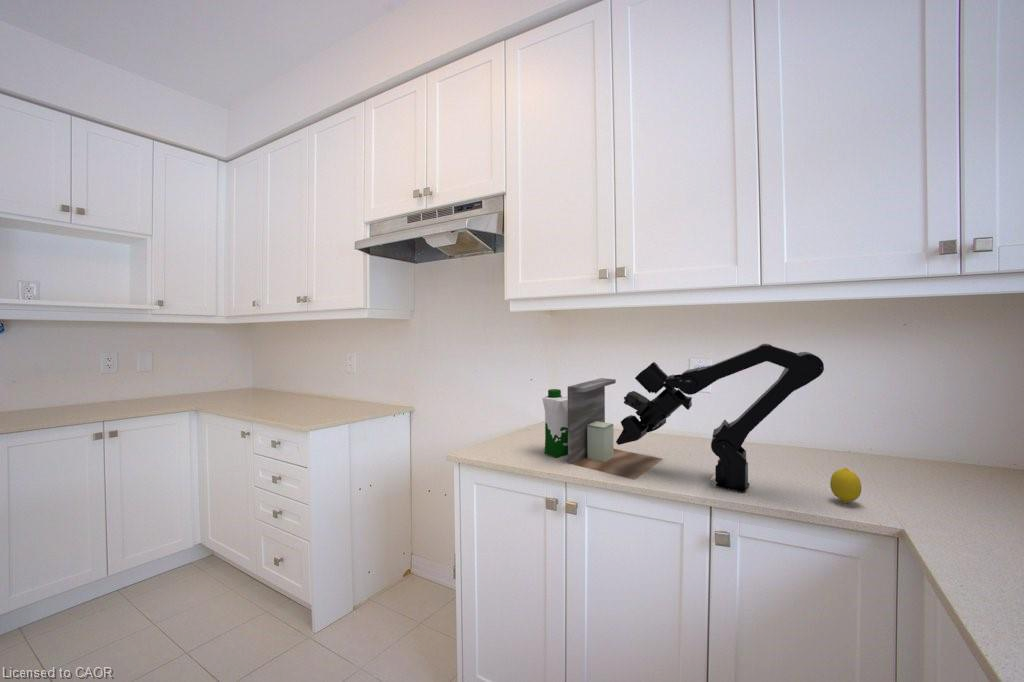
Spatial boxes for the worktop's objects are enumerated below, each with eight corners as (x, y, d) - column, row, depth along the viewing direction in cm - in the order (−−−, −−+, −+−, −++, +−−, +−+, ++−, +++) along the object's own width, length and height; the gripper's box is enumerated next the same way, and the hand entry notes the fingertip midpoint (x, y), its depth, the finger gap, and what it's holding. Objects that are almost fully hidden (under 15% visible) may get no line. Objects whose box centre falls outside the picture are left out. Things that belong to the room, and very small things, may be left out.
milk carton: (558, 447, 139) (558, 387, 138) (580, 454, 132) (580, 390, 131) (540, 454, 133) (539, 391, 132) (561, 461, 127) (561, 394, 125)
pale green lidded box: (613, 456, 126) (613, 423, 126) (604, 462, 122) (604, 427, 122) (596, 453, 130) (596, 421, 129) (587, 458, 126) (587, 424, 125)
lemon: (824, 500, 97) (825, 466, 97) (838, 496, 99) (839, 462, 99) (851, 510, 92) (852, 474, 92) (866, 505, 94) (867, 470, 94)
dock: (663, 462, 124) (663, 383, 123) (634, 483, 109) (634, 393, 108) (601, 449, 137) (601, 378, 136) (568, 466, 122) (567, 386, 120)
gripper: (655, 378, 124) (620, 411, 131) (627, 387, 109) (590, 423, 117) (683, 408, 119) (645, 440, 127) (657, 422, 105) (616, 457, 112)
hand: (624, 439), depth 121 cm, fingers open, 9 cm apart
